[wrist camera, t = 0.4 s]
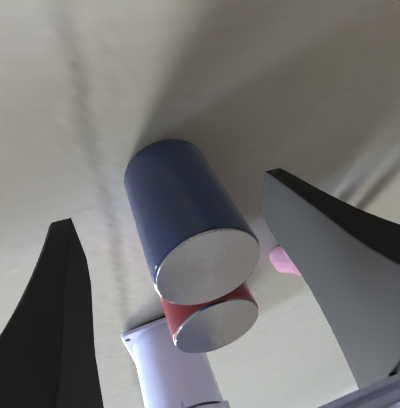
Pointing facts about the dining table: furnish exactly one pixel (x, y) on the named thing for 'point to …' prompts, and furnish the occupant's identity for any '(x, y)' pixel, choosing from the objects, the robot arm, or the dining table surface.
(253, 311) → the tin can burgundy
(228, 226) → the tin can navy
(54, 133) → the dining table surface
